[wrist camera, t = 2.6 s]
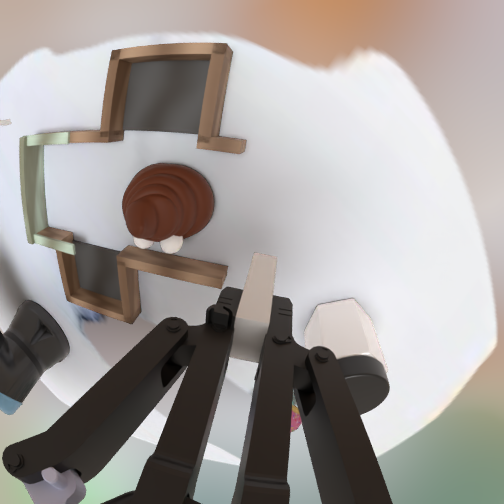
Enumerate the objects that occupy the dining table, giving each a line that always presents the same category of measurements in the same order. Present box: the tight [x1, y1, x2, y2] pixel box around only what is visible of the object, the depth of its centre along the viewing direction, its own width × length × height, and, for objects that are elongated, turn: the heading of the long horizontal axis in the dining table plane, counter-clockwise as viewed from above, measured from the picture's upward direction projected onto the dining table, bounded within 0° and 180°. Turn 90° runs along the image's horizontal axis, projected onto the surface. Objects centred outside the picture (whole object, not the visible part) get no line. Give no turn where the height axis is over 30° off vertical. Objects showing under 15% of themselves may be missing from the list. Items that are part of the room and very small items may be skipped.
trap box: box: [19, 43, 246, 324], centre depth 27 cm, size 30×34×4 cm
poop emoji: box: [122, 163, 214, 254], centre depth 25 cm, size 10×8×9 cm
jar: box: [304, 298, 390, 415], centre depth 28 cm, size 9×8×12 cm
